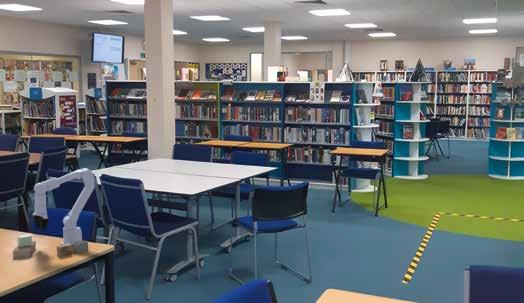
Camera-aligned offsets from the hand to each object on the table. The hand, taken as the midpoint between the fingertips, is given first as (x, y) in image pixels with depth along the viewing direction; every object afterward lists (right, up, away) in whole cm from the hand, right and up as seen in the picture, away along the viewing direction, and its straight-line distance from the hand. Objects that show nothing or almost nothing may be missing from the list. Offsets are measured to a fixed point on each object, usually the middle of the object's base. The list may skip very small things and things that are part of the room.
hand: (41, 229), depth 283 cm
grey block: (+24, -11, -5) cm, 27 cm away
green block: (-5, -7, -9) cm, 12 cm away
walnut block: (+17, -12, -10) cm, 23 cm away
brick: (-5, -12, -8) cm, 16 cm away
